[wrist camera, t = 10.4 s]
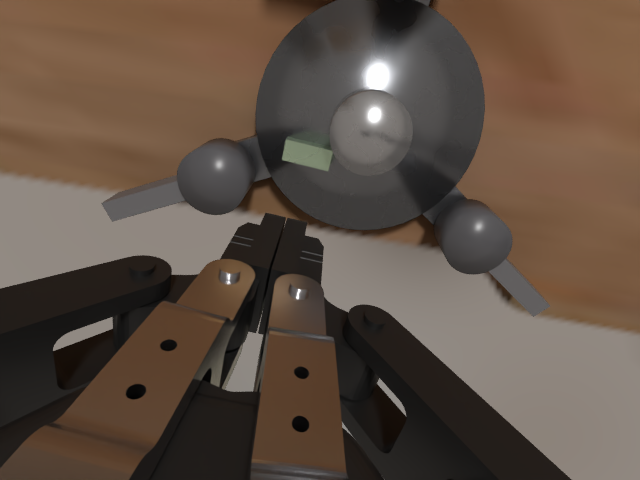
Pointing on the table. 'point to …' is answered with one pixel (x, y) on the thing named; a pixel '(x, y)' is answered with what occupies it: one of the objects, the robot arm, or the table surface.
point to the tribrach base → (371, 62)
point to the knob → (194, 183)
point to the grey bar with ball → (483, 249)
